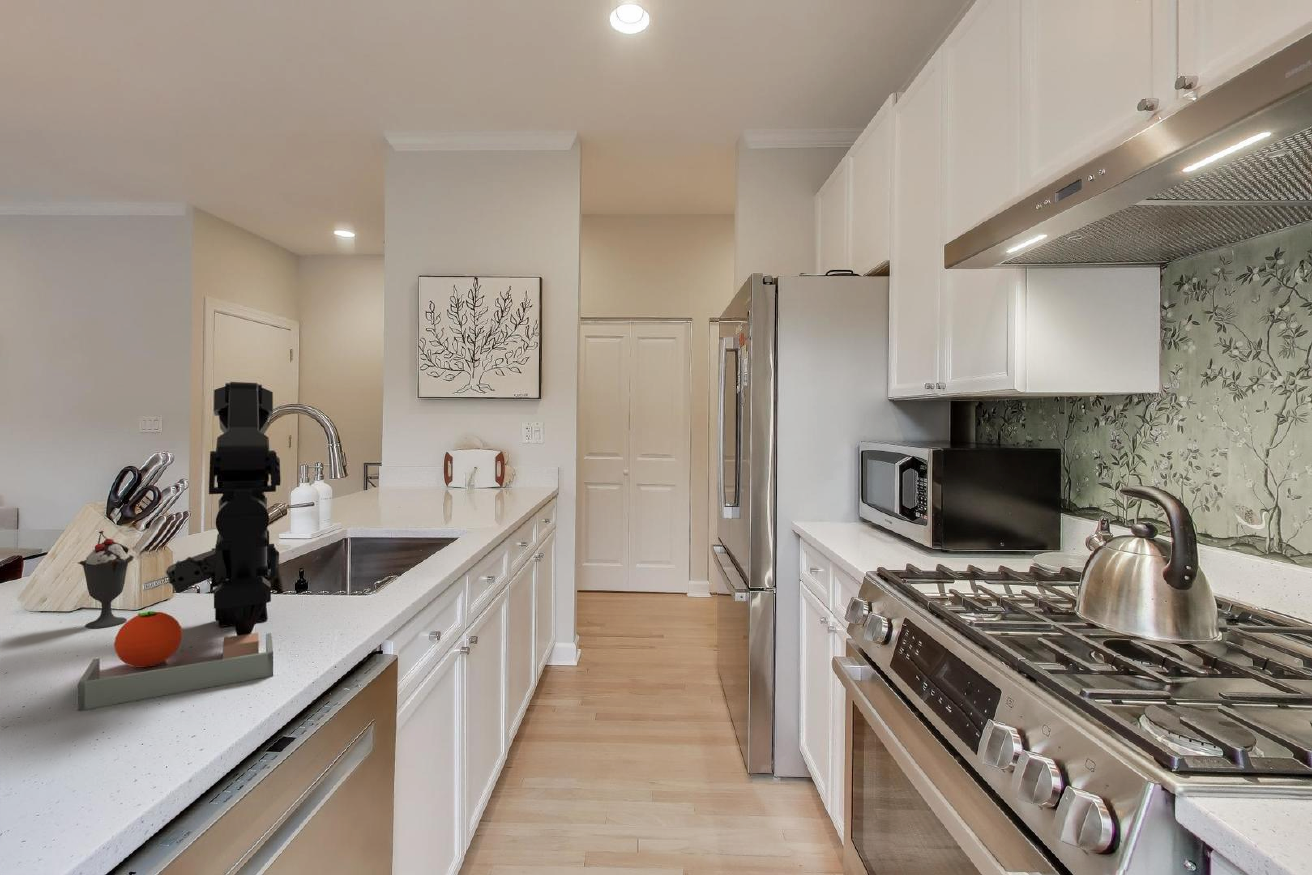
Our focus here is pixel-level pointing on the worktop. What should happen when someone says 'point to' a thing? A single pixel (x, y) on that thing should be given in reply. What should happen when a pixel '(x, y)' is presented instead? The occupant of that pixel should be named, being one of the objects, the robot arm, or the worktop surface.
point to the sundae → (106, 578)
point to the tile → (240, 645)
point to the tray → (170, 679)
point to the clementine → (148, 639)
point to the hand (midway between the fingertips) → (243, 640)
